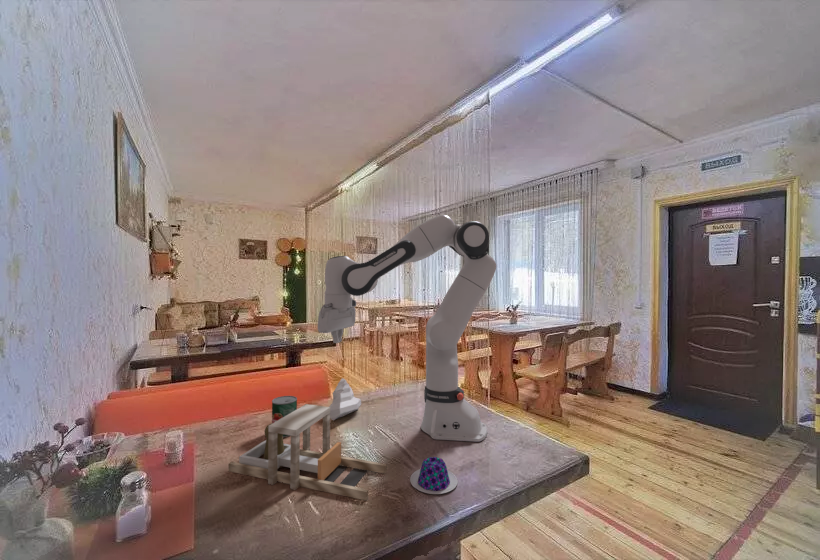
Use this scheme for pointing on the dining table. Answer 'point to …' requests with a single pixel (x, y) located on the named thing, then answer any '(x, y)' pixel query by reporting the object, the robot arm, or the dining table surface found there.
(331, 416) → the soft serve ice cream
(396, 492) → the dining table surface
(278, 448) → the olive rounded cylinder
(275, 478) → the tunnel track
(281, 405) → the canned tomato
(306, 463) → the sled fence
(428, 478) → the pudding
